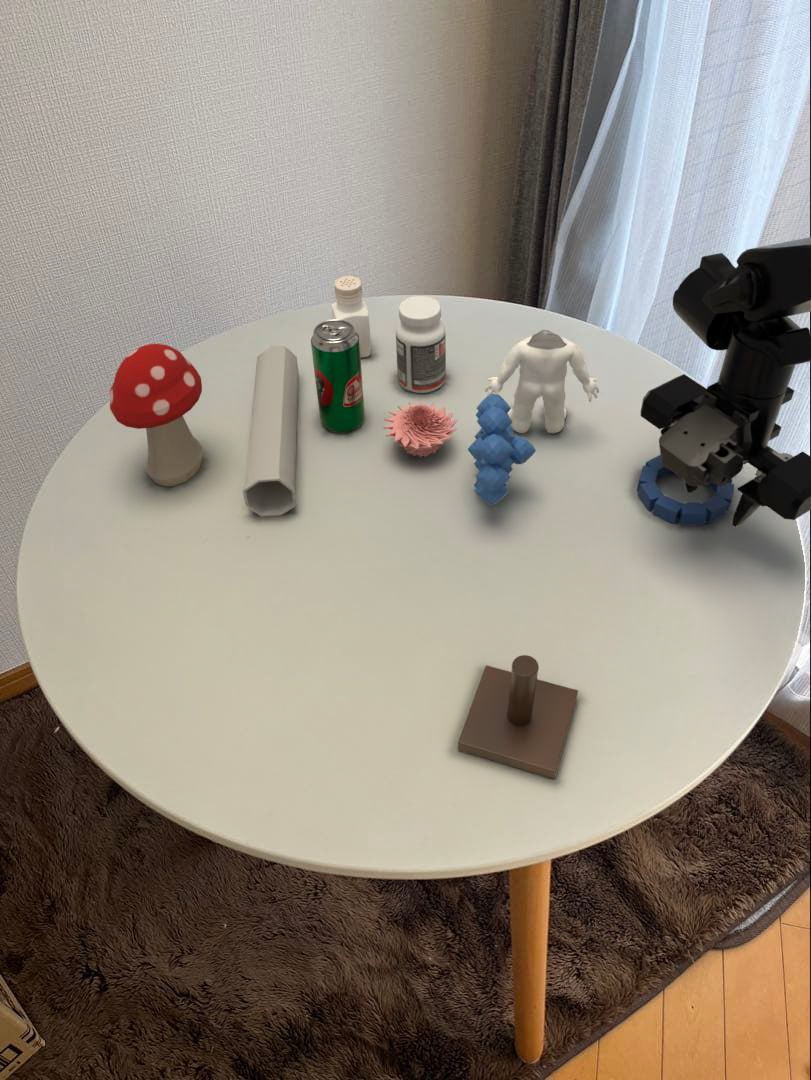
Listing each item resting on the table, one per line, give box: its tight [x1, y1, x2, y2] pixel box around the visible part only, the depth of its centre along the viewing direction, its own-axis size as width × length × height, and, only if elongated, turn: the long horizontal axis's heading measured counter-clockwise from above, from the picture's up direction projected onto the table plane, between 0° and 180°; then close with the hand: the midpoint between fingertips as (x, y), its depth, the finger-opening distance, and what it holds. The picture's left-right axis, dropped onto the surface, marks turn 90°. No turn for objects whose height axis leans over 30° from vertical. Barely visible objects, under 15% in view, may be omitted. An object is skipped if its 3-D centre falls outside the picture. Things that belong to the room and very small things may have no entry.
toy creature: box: [484, 329, 600, 434], centre depth 96 cm, size 12×6×12 cm, turn 87°
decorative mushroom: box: [109, 343, 204, 487], centre depth 92 cm, size 10×9×15 cm
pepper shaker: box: [330, 275, 372, 359], centre depth 108 cm, size 4×4×10 cm
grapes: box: [467, 393, 537, 506], centre depth 89 cm, size 12×7×12 cm, turn 177°
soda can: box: [310, 318, 366, 433], centre depth 98 cm, size 5×5×12 cm
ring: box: [636, 454, 735, 526], centre depth 92 cm, size 9×10×2 cm
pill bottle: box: [395, 295, 447, 394], centre depth 103 cm, size 6×6×10 cm
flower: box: [382, 401, 458, 458], centre depth 96 cm, size 8×8×6 cm
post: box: [457, 654, 579, 780], centre depth 71 cm, size 8×8×8 cm
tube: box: [242, 344, 299, 518], centre depth 98 cm, size 5×5×25 cm
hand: (713, 507), depth 89 cm, fingers open, 6 cm apart
